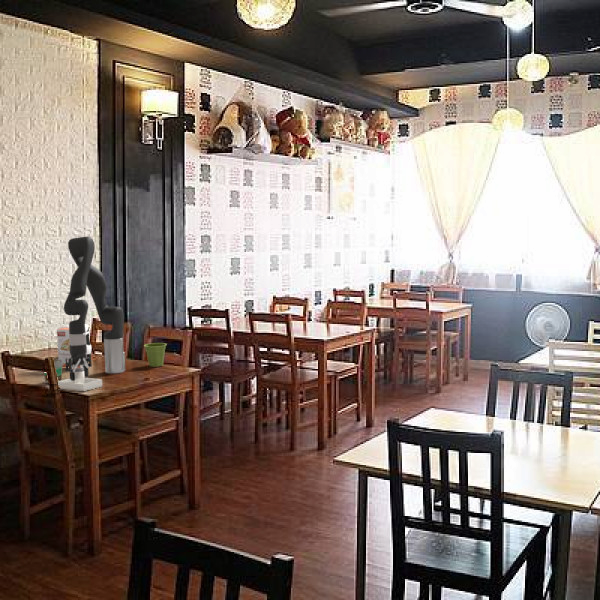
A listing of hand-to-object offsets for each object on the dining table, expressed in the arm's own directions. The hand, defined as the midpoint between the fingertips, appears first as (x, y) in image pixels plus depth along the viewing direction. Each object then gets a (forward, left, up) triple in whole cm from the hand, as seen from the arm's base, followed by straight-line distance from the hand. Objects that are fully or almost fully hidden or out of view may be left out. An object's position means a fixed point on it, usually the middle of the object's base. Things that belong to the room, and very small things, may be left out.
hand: (79, 378), depth 355 cm
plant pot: (-59, -2, -5) cm, 59 cm away
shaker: (0, 0, -4) cm, 4 cm away
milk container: (-64, -62, -5) cm, 89 cm away
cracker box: (-37, -39, -5) cm, 54 cm away
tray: (0, 0, -4) cm, 4 cm away
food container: (-6, -20, -5) cm, 21 cm away
